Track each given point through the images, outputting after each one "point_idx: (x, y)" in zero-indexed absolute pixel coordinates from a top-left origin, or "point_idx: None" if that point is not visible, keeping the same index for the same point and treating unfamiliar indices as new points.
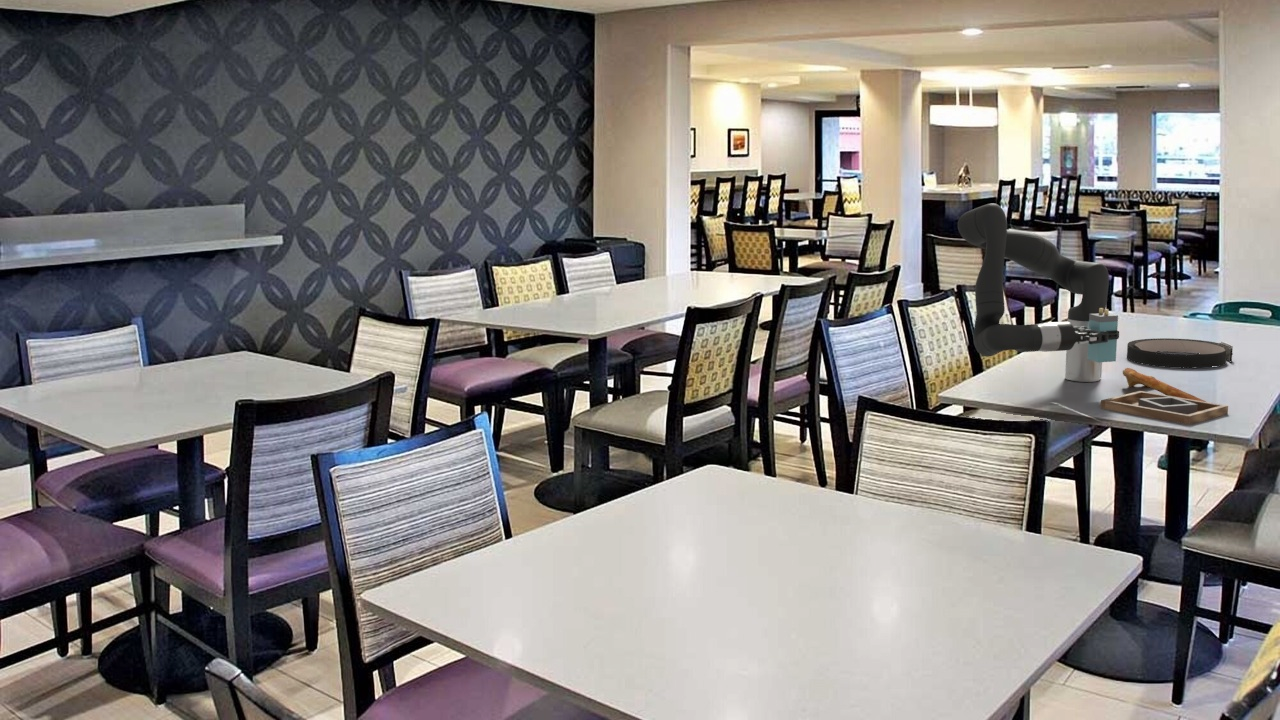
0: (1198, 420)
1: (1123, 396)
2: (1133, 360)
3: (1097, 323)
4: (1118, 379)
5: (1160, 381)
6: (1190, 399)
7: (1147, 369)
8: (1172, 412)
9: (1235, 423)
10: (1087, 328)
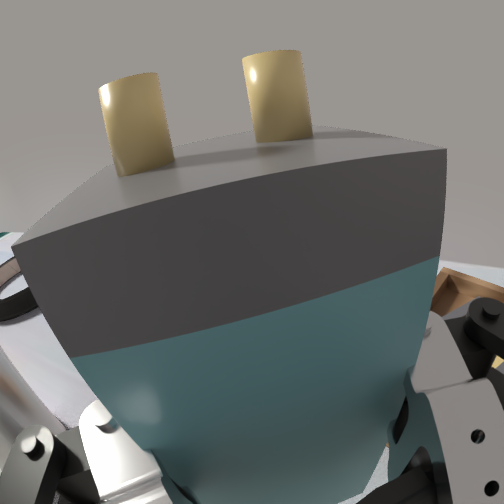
0: None
1: None
2: (2, 319)
3: (376, 306)
4: (71, 386)
5: None
6: None
7: (41, 321)
8: None
9: (488, 279)
10: (166, 477)
